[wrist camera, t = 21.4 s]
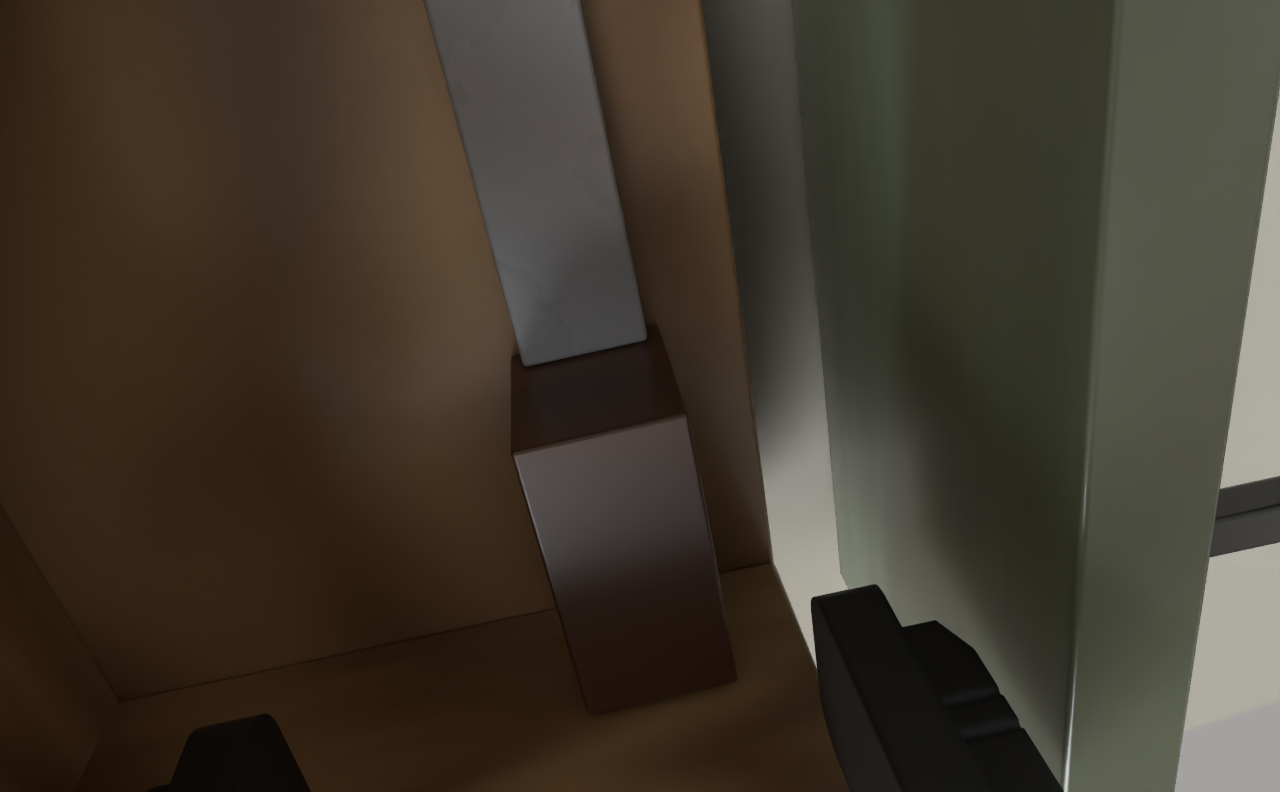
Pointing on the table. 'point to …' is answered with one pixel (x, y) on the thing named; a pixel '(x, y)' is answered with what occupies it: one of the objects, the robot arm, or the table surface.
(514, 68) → the knife
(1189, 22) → the drawer
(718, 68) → the table surface
